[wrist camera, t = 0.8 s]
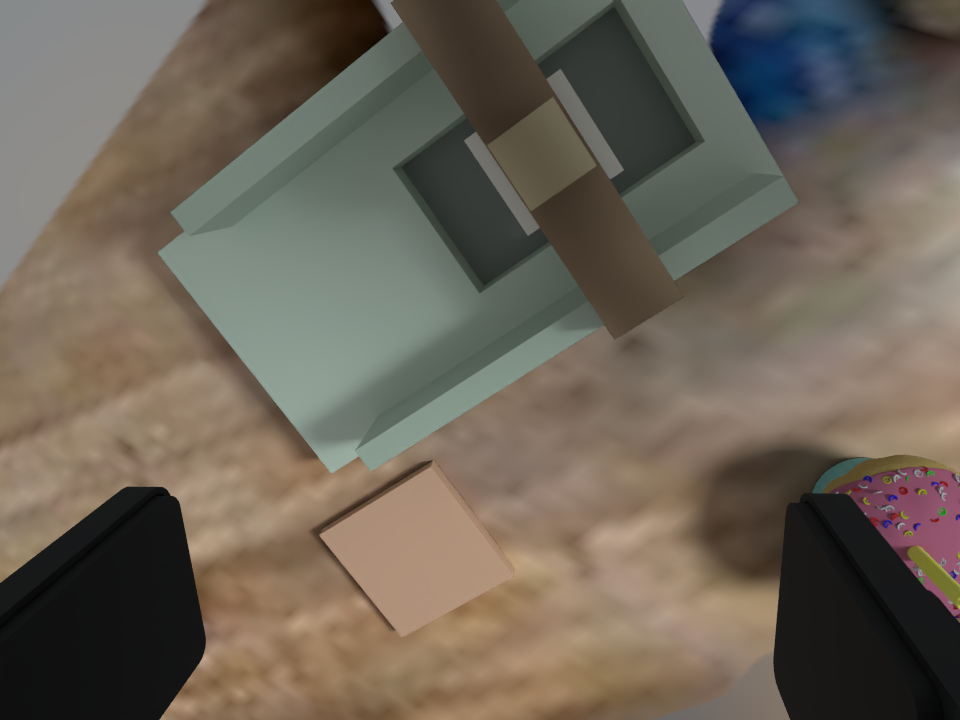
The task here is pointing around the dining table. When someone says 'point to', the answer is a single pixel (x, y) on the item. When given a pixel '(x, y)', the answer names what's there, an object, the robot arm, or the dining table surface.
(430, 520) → the terracotta coaster
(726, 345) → the dining table surface
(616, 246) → the latch bar
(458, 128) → the puzzle board
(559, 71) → the cream block
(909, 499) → the cupcake
